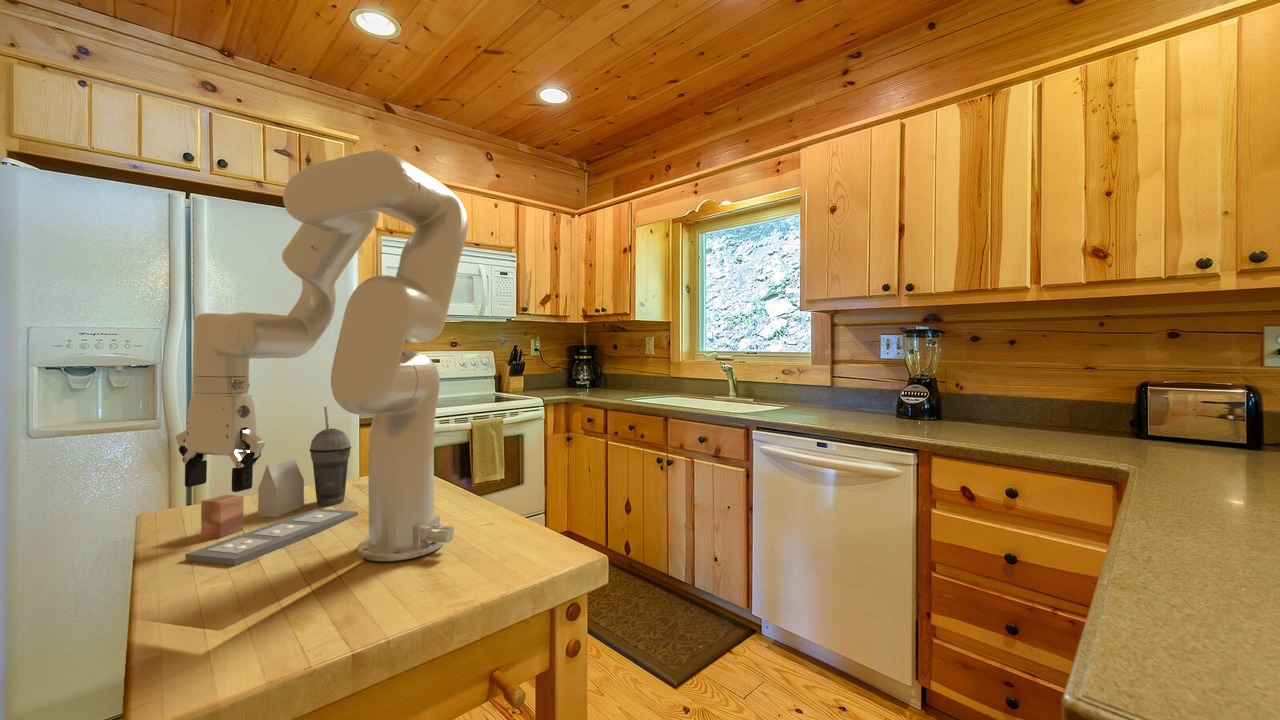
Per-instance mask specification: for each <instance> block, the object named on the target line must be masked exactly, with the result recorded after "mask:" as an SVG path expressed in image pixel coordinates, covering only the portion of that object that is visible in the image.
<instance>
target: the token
mask: <svg viewBox="0 0 1280 720" xmlns="http://www.w3.org/2000/svg"><path fill="white" fill-rule="evenodd" d="M200 509H201V510H200V514H201V515H200V516H201V517H200V520H201V521H200V526H201V528H200V529H201V531H200V533H201V534H200V536H201V537H206V538H214V539H222V538H226V537H228V536H231V535H234V534H237V533H239V532H241V531H243V530H244V495H232V494H222V495H219V496H215V497H211V498H207V499H204V500H201V502H200Z"/></svg>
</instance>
